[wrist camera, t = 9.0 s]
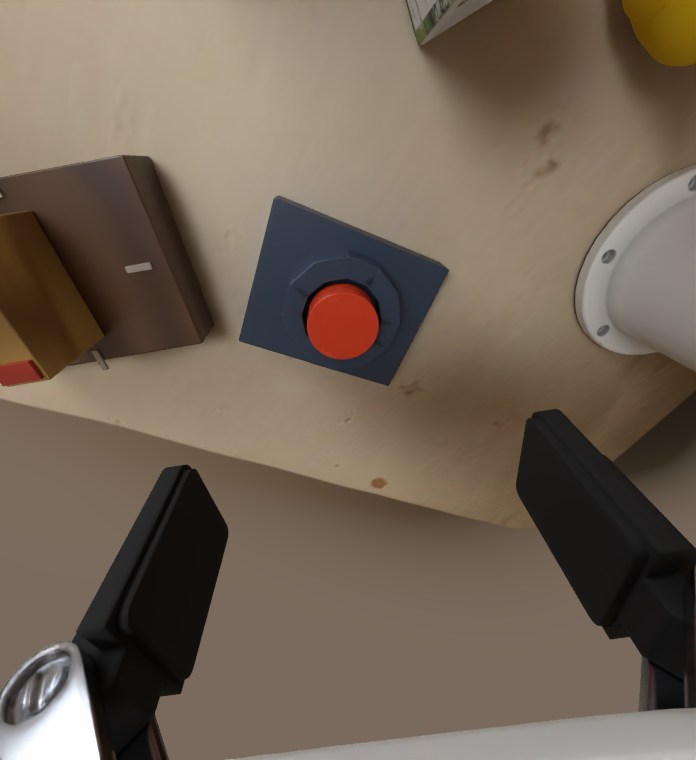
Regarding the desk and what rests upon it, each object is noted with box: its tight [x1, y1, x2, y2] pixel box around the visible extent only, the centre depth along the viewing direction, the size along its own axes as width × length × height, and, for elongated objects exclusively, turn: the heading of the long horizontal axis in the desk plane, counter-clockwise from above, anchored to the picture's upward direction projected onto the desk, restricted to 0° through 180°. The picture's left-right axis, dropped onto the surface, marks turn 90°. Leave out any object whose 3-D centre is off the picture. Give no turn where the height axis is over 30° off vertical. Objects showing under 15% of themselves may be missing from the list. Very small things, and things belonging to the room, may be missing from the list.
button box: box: [239, 196, 449, 386], centre depth 22 cm, size 11×9×4 cm
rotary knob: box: [0, 210, 104, 387], centre depth 17 cm, size 7×2×5 cm, turn 9°
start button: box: [307, 283, 379, 359], centre depth 20 cm, size 4×4×2 cm
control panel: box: [0, 155, 214, 370], centre depth 20 cm, size 13×11×3 cm
